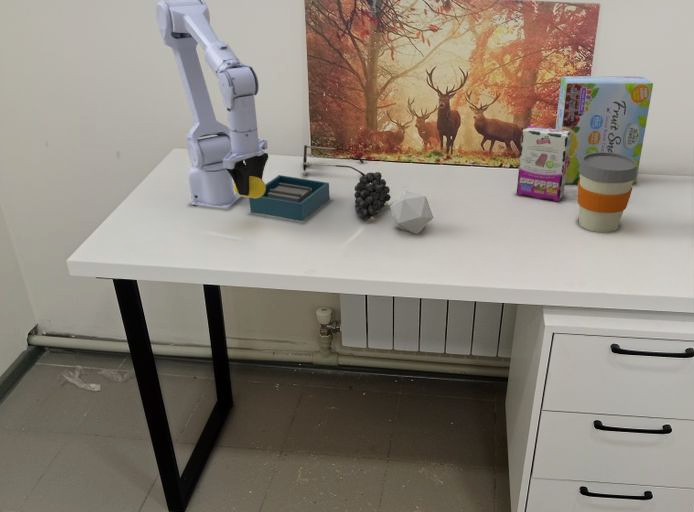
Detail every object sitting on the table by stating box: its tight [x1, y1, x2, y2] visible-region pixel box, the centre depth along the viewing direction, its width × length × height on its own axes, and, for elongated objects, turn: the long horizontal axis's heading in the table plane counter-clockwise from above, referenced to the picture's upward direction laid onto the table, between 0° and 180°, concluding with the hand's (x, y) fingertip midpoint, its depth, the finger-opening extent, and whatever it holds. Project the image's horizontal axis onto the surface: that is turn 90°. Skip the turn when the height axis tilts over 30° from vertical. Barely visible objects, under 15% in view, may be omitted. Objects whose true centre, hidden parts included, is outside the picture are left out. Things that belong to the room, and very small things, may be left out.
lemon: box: [233, 176, 266, 199], centre depth 159 cm, size 8×5×5 cm, turn 70°
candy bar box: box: [516, 125, 572, 202], centre depth 179 cm, size 11×5×16 cm, turn 68°
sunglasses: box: [302, 144, 366, 177], centre depth 194 cm, size 14×16×5 cm
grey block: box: [268, 183, 312, 203], centre depth 172 cm, size 8×7×4 cm
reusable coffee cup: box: [577, 152, 637, 233], centre depth 165 cm, size 13×13×15 cm
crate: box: [248, 174, 331, 222], centre depth 172 cm, size 13×14×5 cm
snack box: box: [554, 75, 654, 185], centre depth 187 cm, size 22×9×26 cm, turn 92°
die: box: [389, 190, 434, 235], centre depth 162 cm, size 8×9×10 cm
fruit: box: [354, 171, 391, 221], centre depth 169 cm, size 9×8×15 cm
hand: (250, 190), depth 159 cm, fingers closed on lemon, 4 cm apart
